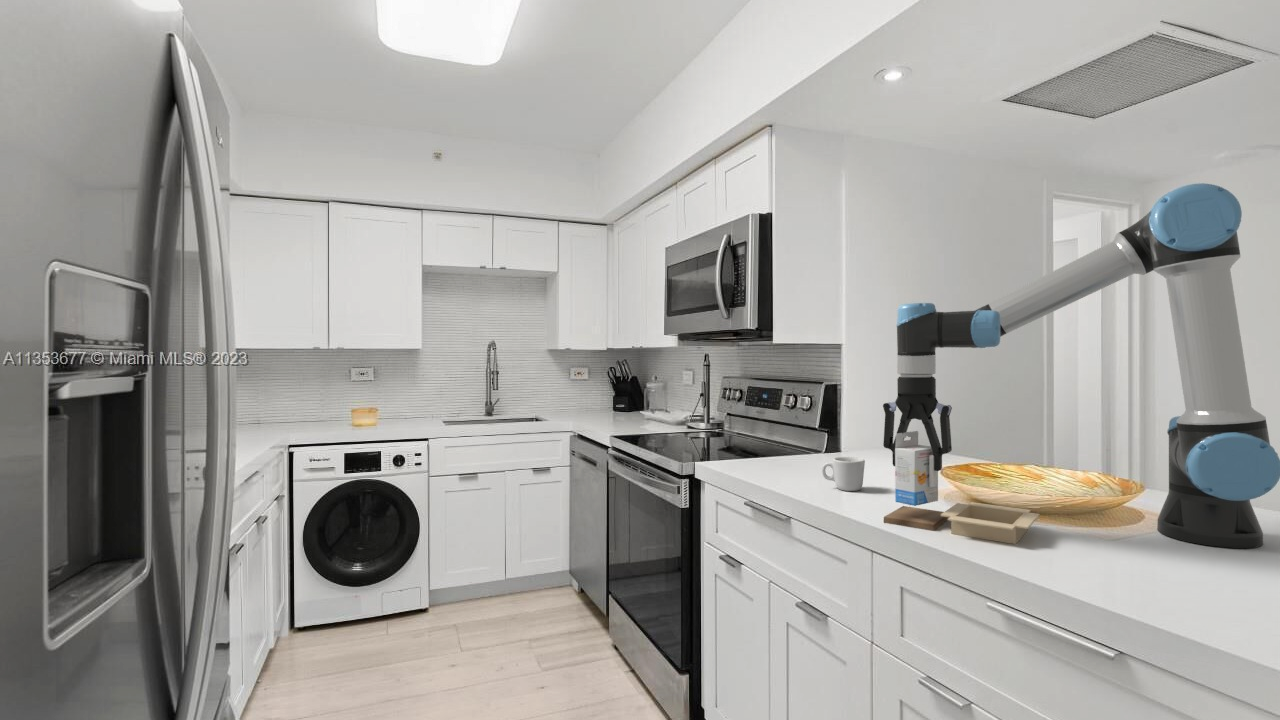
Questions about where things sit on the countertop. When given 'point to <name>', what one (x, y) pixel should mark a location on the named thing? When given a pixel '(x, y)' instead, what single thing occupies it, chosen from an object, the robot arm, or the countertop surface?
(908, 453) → the ink box
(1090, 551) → the countertop surface
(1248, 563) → the countertop surface
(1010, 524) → the beige tray
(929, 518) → the walnut board
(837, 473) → the cup
